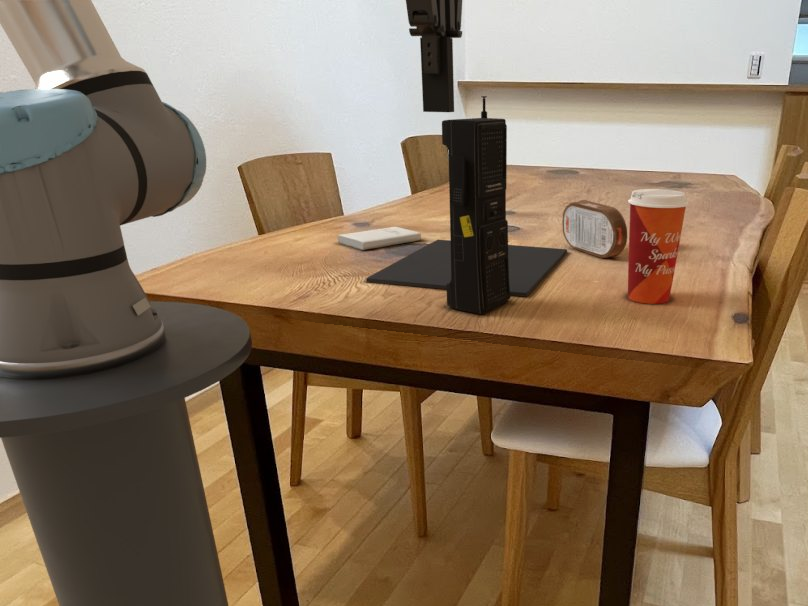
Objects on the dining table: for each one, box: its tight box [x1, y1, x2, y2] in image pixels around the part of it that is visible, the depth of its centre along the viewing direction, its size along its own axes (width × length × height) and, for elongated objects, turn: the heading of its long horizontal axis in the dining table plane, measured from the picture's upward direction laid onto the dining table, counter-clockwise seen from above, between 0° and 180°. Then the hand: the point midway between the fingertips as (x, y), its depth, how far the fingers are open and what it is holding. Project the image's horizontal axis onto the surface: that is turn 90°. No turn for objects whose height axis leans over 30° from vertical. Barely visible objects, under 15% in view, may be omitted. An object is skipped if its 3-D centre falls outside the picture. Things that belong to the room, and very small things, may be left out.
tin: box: [561, 199, 628, 259], centre depth 113 cm, size 15×3×8 cm, turn 32°
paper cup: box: [627, 188, 690, 305], centre depth 87 cm, size 8×8×14 cm
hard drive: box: [337, 226, 422, 251], centre depth 120 cm, size 2×8×12 cm
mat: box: [365, 239, 568, 298], centre depth 105 cm, size 24×28×1 cm
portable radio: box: [441, 95, 511, 315], centre depth 81 cm, size 8×6×25 cm
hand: (438, 111), depth 65 cm, fingers closed
